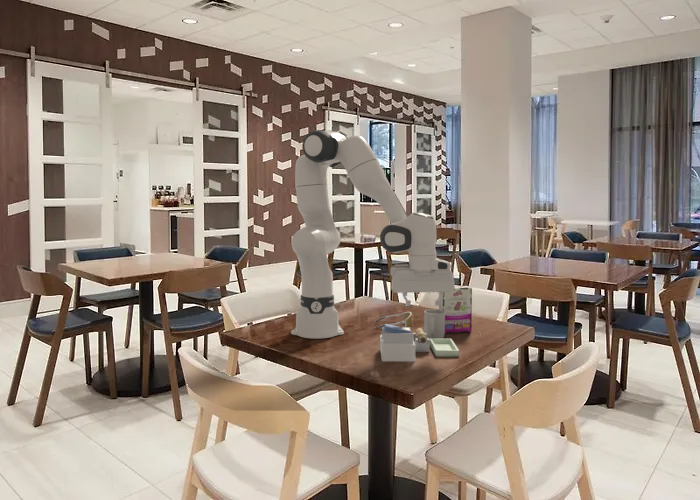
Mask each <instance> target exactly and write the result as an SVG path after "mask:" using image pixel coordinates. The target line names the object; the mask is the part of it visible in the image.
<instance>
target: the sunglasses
mask: <svg viewBox="0 0 700 500" xmlns="http://www.w3.org/2000/svg"><path fill="white" fill-rule="evenodd" d="M412 314H413V313H412V312H411V311H407V312H406V311H405V312H402V313H396V314H391V315H385V316H383V317H380V318H378V319H376V320H374V321H373V323H378V322H380V321H381V320H384V319H389V318H392V317H398V318H399V317H402V321H398V322H393V323H388V324H389V325H394V326H397V325H404V327H413V315H412ZM384 325H385V324H381V325H378V326H374V329H375V330H376V329H380V328H381V329H382V327H384Z"/></svg>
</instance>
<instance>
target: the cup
mask: <svg viewBox="0 0 700 500" xmlns="http://www.w3.org/2000/svg"><path fill="white" fill-rule="evenodd" d="M423 315H424V316H423V318H424V319H423V320H424V321H423V323H424V324H423V325H424V326H423V332H424V333H427V338H429V339H430V338H444V337H445V334H446V333H445V311H442V310H439V309H426V310H424V314H423Z"/></svg>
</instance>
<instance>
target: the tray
mask: <svg viewBox="0 0 700 500" xmlns="http://www.w3.org/2000/svg"><path fill="white" fill-rule="evenodd" d="M429 339H430V349H431V350H432V352H433V355H434V356H435V357H436V358H442V357H444V358H455V357H456V358H460V349H459V348H458V347H457V345H456V343H455V342H454V340H453V339H452V338H448V337H447V338H429Z"/></svg>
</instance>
